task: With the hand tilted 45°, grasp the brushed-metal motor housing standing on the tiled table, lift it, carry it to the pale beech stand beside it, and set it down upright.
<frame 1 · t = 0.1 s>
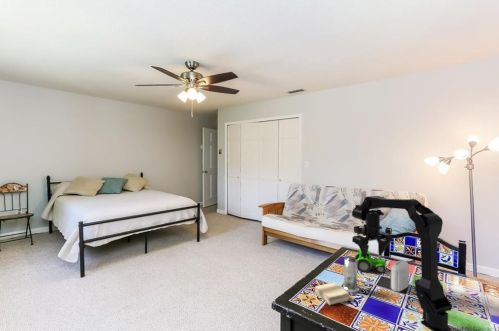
hand: (372, 256, 115), 15 cm above the table, tool pointing down, fingers open, 9 cm apart
photo printer: (399, 288, 116), on the table
toy tractor: (369, 269, 135), on the table
stand: (331, 296, 109), on the table
housing: (350, 289, 115), on the table
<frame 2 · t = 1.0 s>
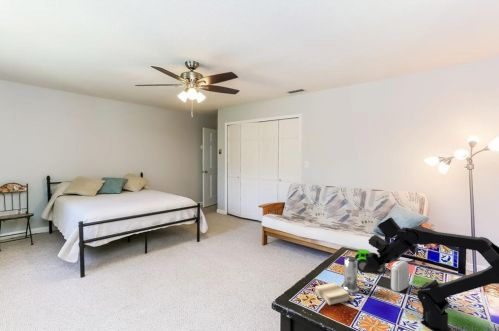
hand: (369, 266, 108), 13 cm above the table, tool tilted 45°, fingers open, 9 cm apart
nothing on the table moved.
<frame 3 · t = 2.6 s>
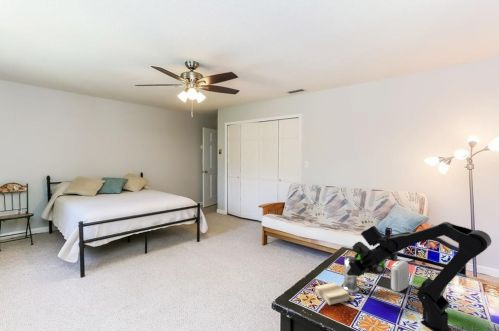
hand: (353, 271, 114), 9 cm above the table, tool tilted 45°, fingers open, 9 cm apart
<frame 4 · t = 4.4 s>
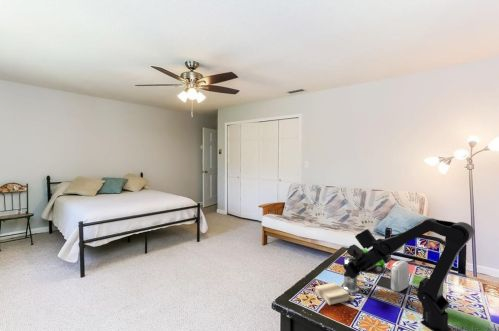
hand: (347, 273, 116), 7 cm above the table, tool tilted 45°, fingers closed on housing, 5 cm apart
housing: (350, 289, 115), on the table, touching gripper
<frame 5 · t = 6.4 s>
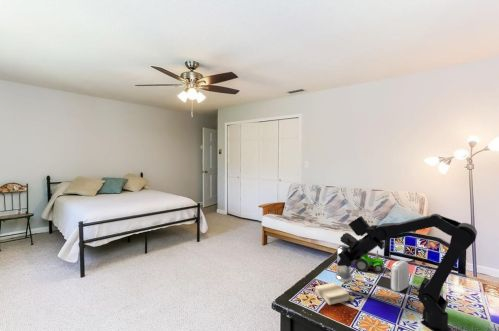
hand: (340, 263, 114), 13 cm above the table, tool tilted 45°, fingers closed on housing, 5 cm apart
housing: (343, 278, 113), point 6 cm above the table, touching gripper
when the fingers open (11 cm above the table, at t = 8.4 s): housing drops 1 cm, resting on stand.
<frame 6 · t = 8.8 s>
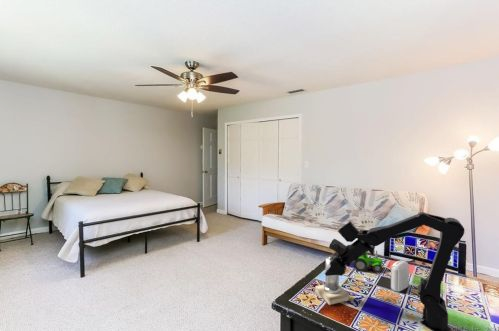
hand: (328, 270, 110), 11 cm above the table, tool tilted 45°, fingers open, 9 cm apart
housing: (332, 289, 109), point 3 cm above the table, touching stand
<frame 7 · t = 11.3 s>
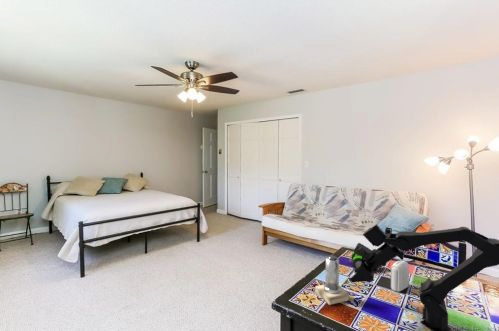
hand: (352, 276, 104), 11 cm above the table, tool tilted 45°, fingers open, 9 cm apart
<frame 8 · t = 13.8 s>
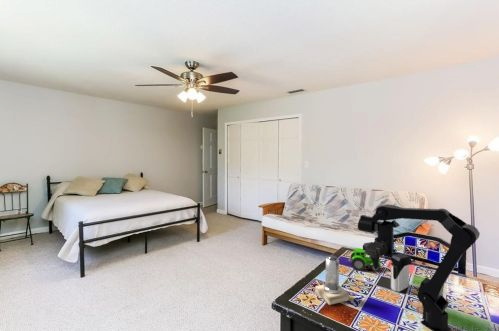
hand: (385, 273, 102), 13 cm above the table, tool pointing down, fingers open, 9 cm apart
at the end: housing 0.1 cm off-centre on the stand, point 3.0 cm above the stand's base; housing tilted 0°; the gripper is holding nothing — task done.
